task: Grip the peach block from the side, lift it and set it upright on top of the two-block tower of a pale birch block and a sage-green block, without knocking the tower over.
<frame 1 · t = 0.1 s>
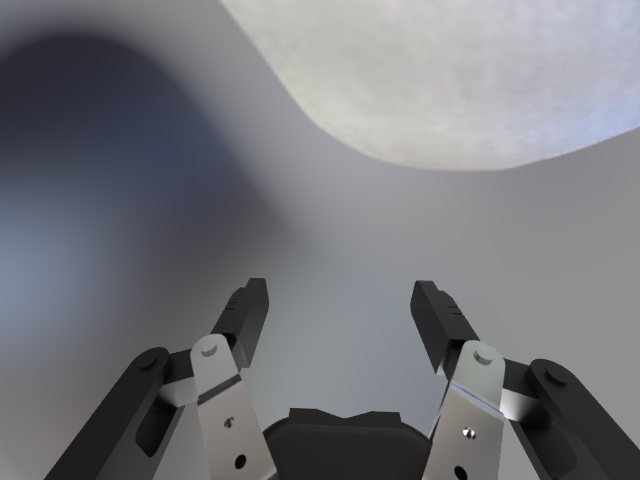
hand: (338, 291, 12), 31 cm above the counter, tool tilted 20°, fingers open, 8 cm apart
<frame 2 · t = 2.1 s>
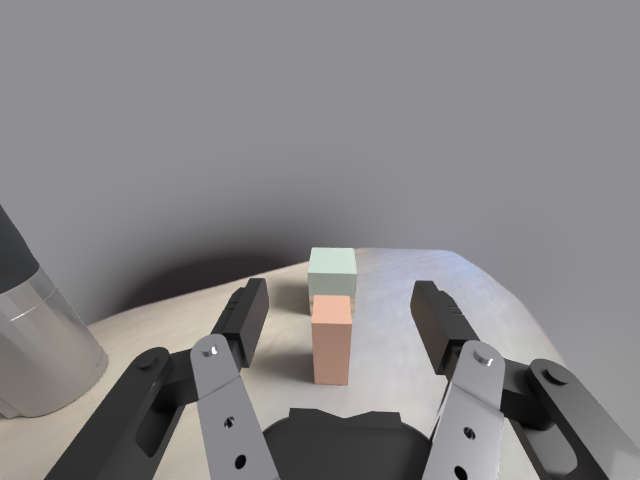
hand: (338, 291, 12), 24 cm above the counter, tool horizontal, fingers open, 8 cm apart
peach block: (331, 368, 33), on the counter
tower top block: (332, 281, 43), point 5 cm above the counter, touching tower base block
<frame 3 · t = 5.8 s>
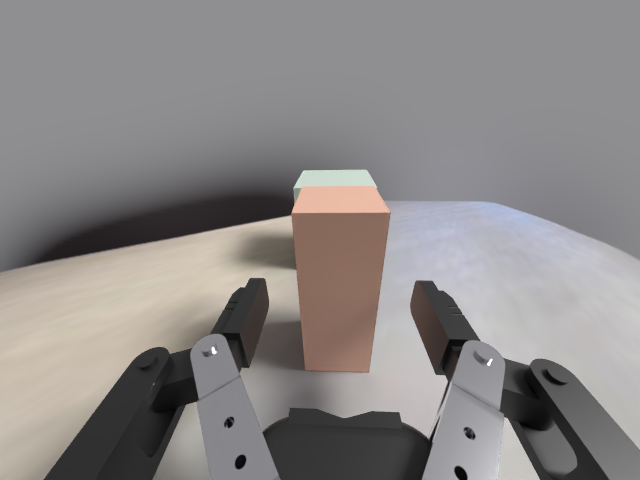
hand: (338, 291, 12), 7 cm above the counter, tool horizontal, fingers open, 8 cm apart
peach block: (336, 343, 18), on the counter
tower top block: (334, 219, 28), point 5 cm above the counter, touching tower base block
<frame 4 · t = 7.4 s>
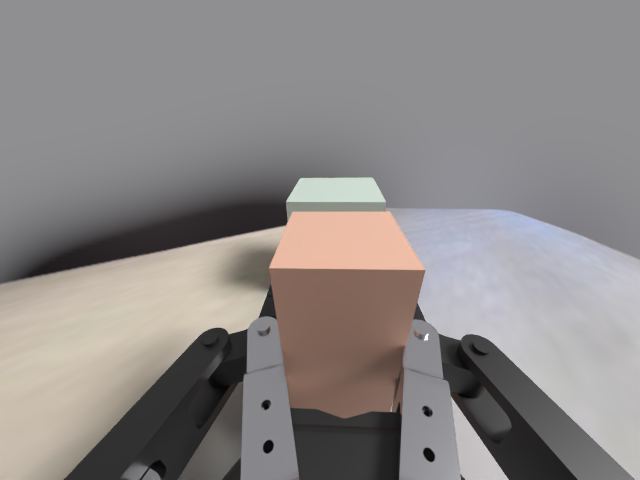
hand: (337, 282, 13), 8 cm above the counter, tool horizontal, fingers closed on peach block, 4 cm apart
peach block: (337, 404, 14), on the counter, touching gripper
tower top block: (335, 234, 24), point 5 cm above the counter, touching tower base block
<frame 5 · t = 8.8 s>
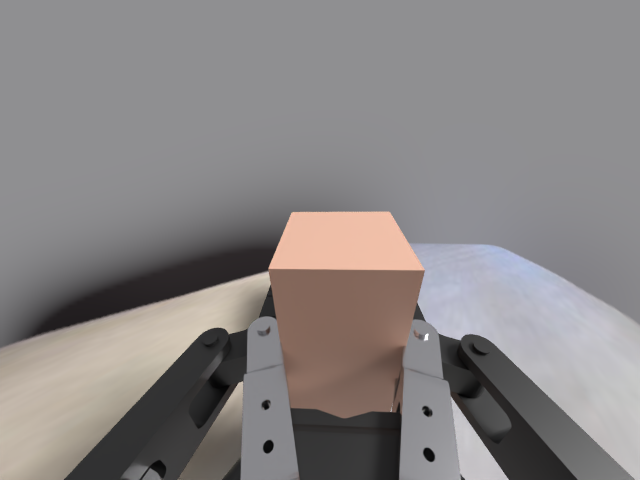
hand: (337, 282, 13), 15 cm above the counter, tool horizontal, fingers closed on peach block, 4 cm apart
peach block: (337, 404, 14), point 7 cm above the counter, touching gripper
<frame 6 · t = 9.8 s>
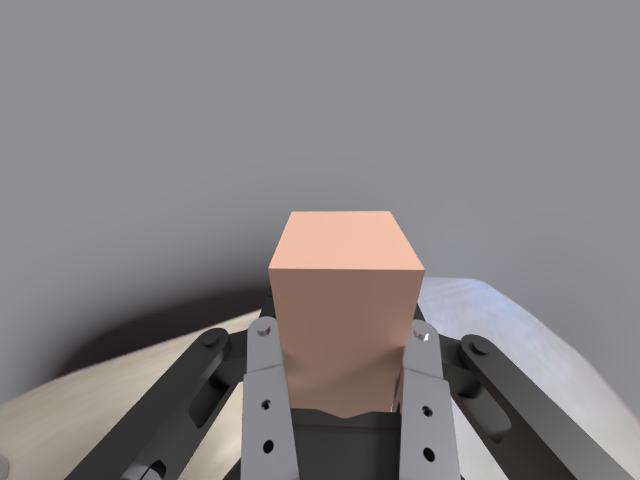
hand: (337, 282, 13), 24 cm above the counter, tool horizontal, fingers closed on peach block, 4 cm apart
peach block: (337, 404, 14), point 16 cm above the counter, touching gripper
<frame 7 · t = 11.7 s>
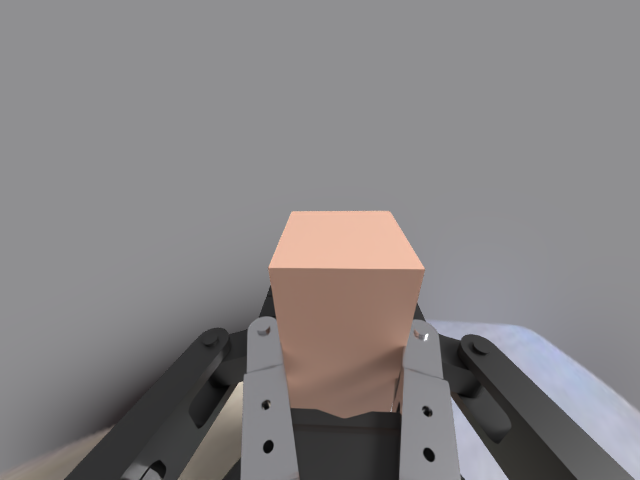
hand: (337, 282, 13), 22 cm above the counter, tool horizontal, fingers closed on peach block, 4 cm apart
peach block: (337, 403, 14), point 15 cm above the counter, touching gripper
when the fingers open (19 cm above the counter, at t = 12.8 s): peach block drops 2 cm, resting on tower top block.
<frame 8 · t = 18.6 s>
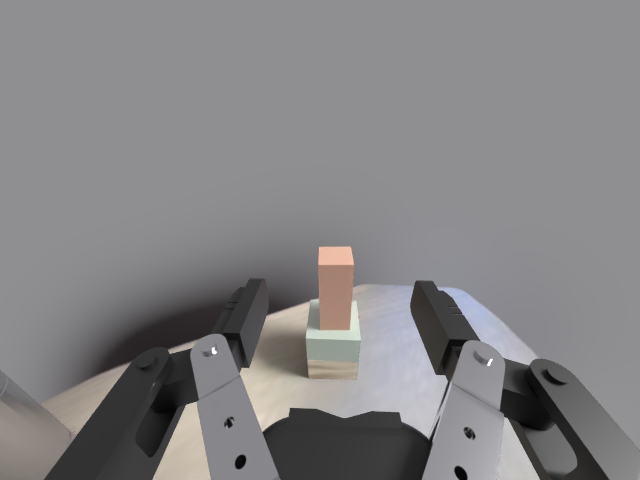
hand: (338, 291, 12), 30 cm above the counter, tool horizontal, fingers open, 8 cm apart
peach block: (334, 318, 36), point 10 cm above the counter, touching tower top block
tower base block: (332, 357, 41), on the counter
tower top block: (332, 338, 39), point 5 cm above the counter, touching peach block
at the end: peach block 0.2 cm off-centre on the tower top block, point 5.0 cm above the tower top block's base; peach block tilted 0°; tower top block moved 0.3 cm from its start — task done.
